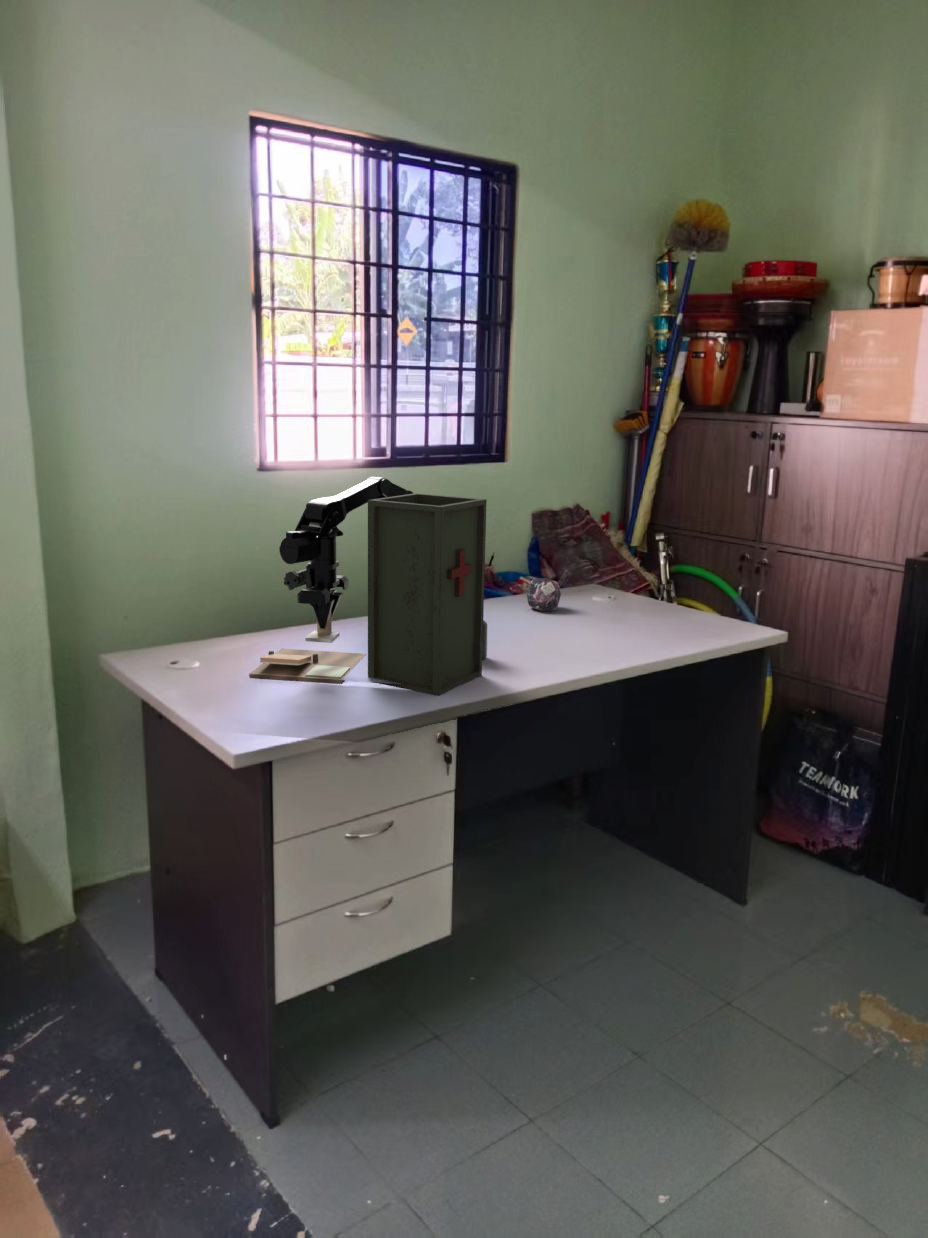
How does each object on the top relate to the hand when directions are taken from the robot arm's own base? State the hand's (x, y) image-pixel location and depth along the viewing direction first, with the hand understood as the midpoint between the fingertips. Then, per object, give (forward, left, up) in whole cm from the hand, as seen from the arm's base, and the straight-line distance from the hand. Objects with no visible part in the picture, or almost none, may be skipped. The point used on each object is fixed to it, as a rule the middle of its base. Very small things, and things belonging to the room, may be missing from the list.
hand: (324, 626), depth 218 cm
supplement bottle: (-31, -20, -11) cm, 39 cm away
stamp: (0, +1, -2) cm, 3 cm away
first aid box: (-23, -1, -11) cm, 25 cm away
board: (+5, -4, -11) cm, 13 cm away
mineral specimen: (-44, -78, -11) cm, 91 cm away
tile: (+9, -1, -8) cm, 12 cm away
